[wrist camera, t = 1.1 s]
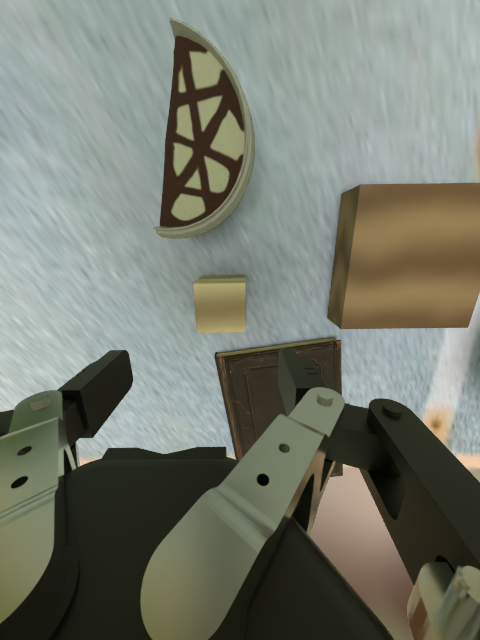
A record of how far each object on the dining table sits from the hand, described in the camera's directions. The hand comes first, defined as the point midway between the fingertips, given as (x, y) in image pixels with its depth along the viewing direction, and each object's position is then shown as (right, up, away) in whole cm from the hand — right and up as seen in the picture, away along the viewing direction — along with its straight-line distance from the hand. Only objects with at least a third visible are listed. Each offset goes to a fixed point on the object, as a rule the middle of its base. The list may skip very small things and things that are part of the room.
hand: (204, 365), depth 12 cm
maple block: (0, +5, +16) cm, 17 cm away
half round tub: (0, +17, +12) cm, 21 cm away
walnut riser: (+20, +9, +15) cm, 26 cm away
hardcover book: (+8, -11, +22) cm, 26 cm away
